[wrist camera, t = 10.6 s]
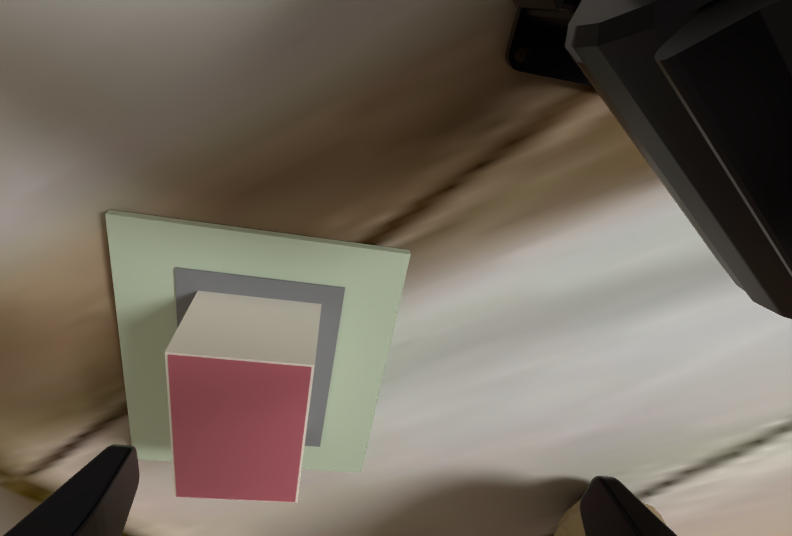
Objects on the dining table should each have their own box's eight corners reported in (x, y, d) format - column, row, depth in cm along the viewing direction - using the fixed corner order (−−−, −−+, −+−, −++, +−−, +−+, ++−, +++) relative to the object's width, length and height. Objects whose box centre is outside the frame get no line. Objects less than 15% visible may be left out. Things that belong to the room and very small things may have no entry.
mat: (409, 250, 20) (410, 255, 20) (360, 466, 27) (361, 474, 27) (109, 209, 19) (103, 214, 18) (136, 452, 25) (132, 460, 25)
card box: (305, 431, 25) (297, 503, 21) (201, 424, 24) (174, 498, 20) (321, 304, 21) (314, 365, 17) (197, 290, 20) (164, 352, 17)
